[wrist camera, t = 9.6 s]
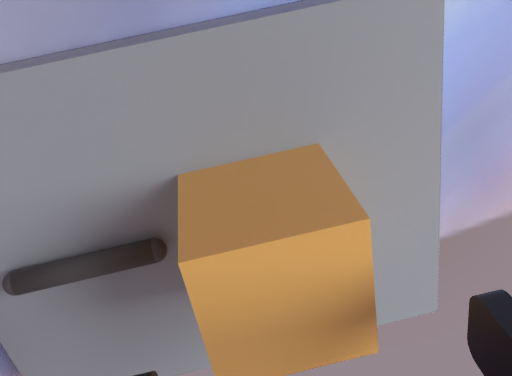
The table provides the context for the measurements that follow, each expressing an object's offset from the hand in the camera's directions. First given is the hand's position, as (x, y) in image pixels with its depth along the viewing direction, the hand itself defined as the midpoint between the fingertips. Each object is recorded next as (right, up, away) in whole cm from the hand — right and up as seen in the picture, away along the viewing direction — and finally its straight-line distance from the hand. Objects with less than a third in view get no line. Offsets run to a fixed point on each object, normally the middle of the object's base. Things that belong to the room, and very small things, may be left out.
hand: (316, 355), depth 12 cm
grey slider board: (-4, +3, +7) cm, 8 cm away
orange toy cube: (-1, +3, +6) cm, 7 cm away
